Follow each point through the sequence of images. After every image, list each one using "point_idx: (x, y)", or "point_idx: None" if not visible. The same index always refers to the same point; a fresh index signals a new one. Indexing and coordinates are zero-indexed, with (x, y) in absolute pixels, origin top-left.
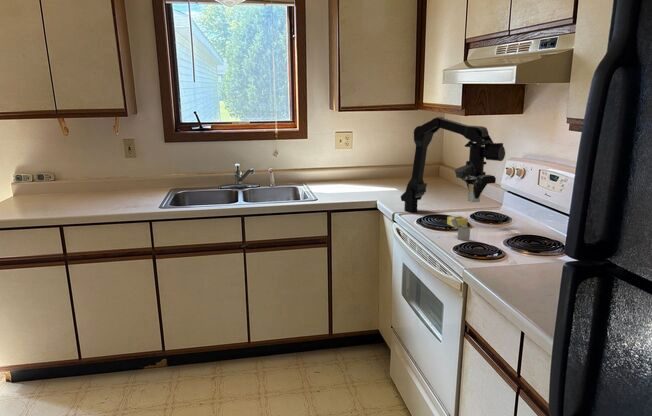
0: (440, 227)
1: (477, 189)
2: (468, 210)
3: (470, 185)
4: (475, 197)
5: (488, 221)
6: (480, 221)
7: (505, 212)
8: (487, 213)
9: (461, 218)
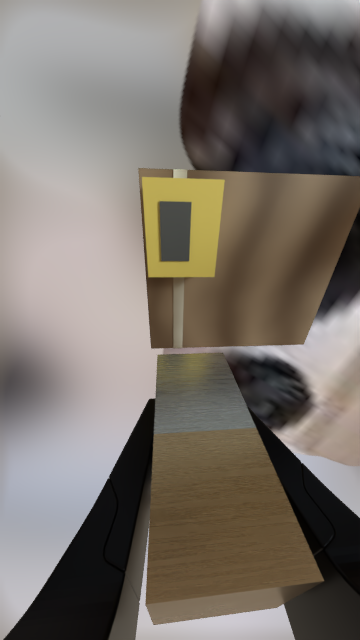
0: (219, 147)
1: (94, 514)
2: (338, 389)
3: (247, 550)
4: (152, 403)
5: None
6: None
7: None
8: (282, 413)
9: (159, 246)
